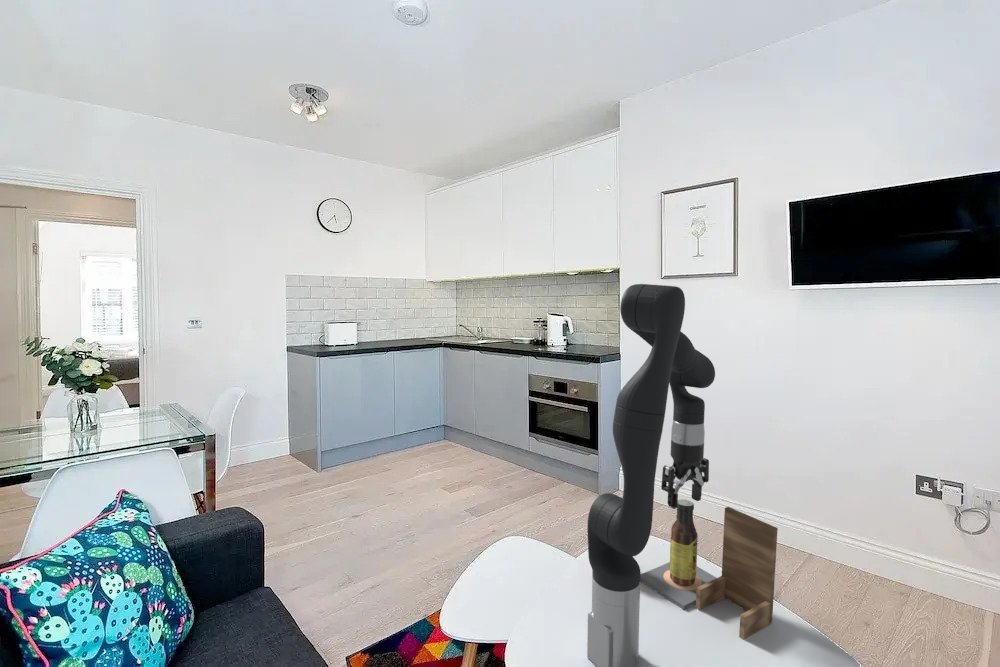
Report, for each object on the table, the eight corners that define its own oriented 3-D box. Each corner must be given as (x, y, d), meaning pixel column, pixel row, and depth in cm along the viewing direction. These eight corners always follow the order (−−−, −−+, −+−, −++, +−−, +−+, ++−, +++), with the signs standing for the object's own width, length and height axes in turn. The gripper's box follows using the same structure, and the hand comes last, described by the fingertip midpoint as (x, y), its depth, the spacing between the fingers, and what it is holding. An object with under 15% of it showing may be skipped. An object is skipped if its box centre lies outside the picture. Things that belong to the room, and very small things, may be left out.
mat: (683, 609, 117) (683, 605, 116) (638, 578, 129) (638, 574, 128) (727, 587, 125) (727, 583, 124) (681, 560, 137) (681, 556, 136)
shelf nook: (743, 639, 107) (748, 540, 104) (695, 607, 117) (699, 517, 115) (772, 622, 112) (777, 528, 110) (723, 593, 122) (728, 506, 120)
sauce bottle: (697, 588, 122) (701, 510, 120) (670, 585, 124) (674, 507, 122) (693, 573, 129) (697, 498, 127) (667, 570, 130) (670, 496, 128)
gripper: (680, 448, 116) (677, 516, 118) (720, 438, 123) (716, 502, 125) (654, 439, 122) (652, 504, 124) (694, 430, 129) (691, 491, 131)
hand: (684, 503), depth 124 cm, fingers open, 8 cm apart
